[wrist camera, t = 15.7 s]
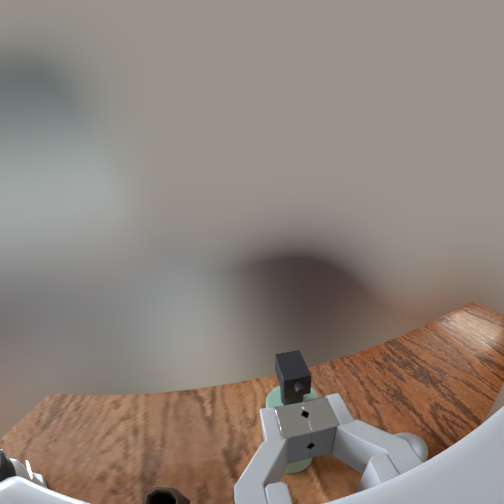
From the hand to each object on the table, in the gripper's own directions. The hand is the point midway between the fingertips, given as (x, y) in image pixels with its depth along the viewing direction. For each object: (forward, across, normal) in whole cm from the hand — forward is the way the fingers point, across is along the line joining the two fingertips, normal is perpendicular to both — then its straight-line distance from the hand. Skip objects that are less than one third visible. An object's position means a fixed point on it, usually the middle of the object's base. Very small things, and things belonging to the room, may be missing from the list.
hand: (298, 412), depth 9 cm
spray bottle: (+19, -4, +35) cm, 40 cm away
